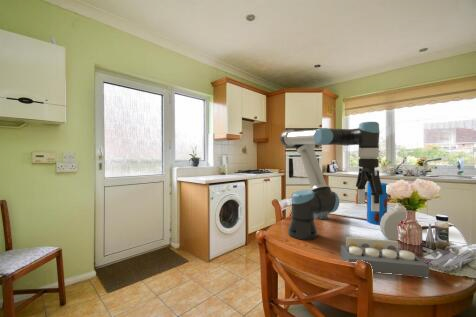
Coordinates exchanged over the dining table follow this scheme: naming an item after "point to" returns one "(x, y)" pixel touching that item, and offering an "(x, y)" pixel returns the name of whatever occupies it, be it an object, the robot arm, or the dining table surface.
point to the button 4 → (406, 255)
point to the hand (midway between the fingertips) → (367, 207)
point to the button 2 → (371, 252)
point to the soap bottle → (392, 222)
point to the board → (389, 263)
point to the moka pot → (321, 216)
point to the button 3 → (389, 254)
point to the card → (372, 243)
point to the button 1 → (355, 251)
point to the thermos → (376, 216)
